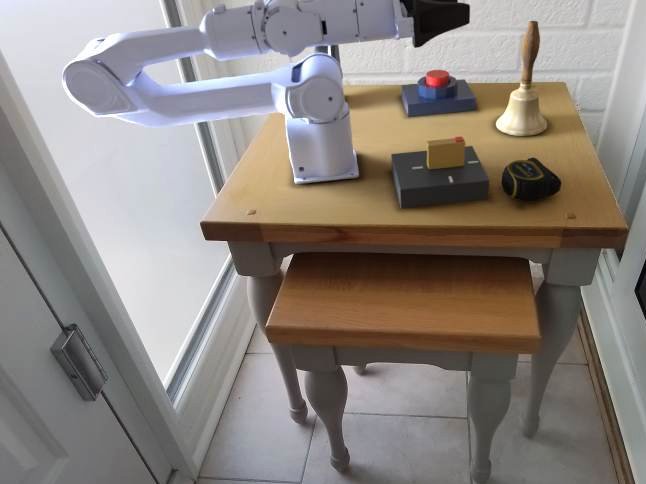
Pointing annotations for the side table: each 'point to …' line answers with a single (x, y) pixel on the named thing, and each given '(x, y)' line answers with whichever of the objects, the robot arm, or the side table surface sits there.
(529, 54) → the hand bell
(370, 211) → the side table surface
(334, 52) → the battery charger
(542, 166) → the tape measure
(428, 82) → the bell button
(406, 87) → the button base
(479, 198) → the plate
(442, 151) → the lock knob
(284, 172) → the side table surface
